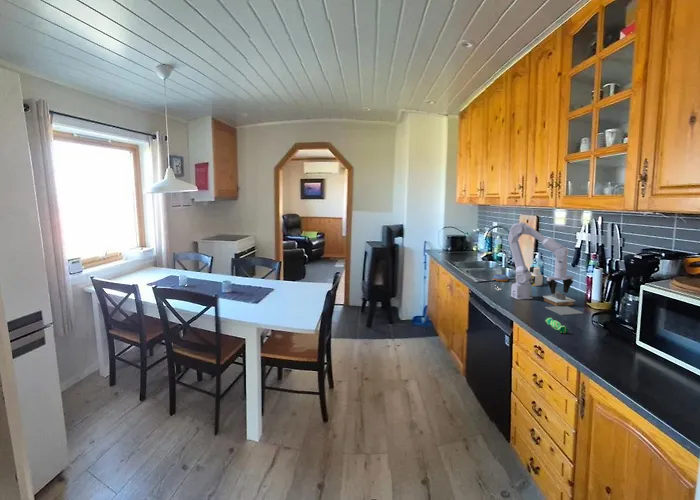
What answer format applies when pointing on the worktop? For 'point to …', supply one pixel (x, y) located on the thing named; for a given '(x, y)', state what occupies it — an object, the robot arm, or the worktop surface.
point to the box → (559, 303)
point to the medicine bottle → (535, 276)
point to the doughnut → (500, 278)
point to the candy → (556, 325)
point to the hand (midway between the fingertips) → (559, 293)
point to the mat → (564, 310)
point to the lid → (559, 297)
